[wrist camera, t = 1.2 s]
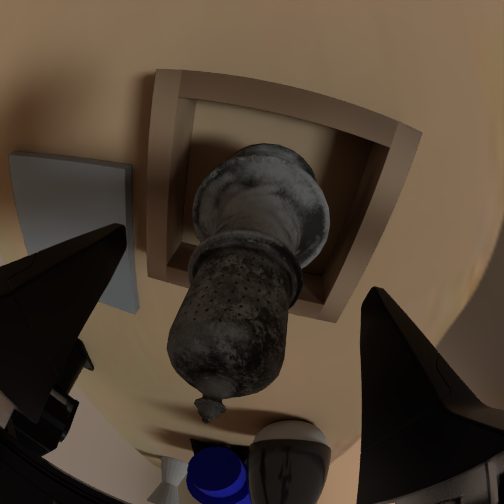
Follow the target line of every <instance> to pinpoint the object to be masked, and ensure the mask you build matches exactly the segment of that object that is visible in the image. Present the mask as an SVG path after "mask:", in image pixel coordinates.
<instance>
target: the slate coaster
mask: <svg viewBox="0 0 504 504" xmlns="http://www.w3.org/2000/svg"><path fill="white" fill-rule="evenodd" d="M8 157H9V165H10V173H11V180H12V187H13V192H14V198H15V203H16V208H17V213H18V217H19V222H20V226H21V230H22V234H23V238H24V241H25V245H26V248H27V252H28V255H31V254H34V253H36V252H37V253H38V252H39V251H41V250H44V249H46V248H48V247H51V246H53V245H56V244H59V243H61V242H64V241H66V240H69V239H71V238H74V237H77V236H79V235H82V234H85V233H88V232H90V231H93V230H96V229H99V228H101V227H104V226H107V225H110V224H113V223H119V224H122V225H124V226H125V227H126V235H127V248H126V251H125V253H124V255H123V257H122V259H121V261H120V263H119V265H118V267H117V269H116V271H115V273H114V275H113V277H112V279H111V281H110V282H109V284H108V286H107V288H106V289H105V291H104V292H103V294H102V296H101V297H100V299H99V302H102V303H105V304H107V305H110V306H113V307H115V308H118V309H121V310H124V311H127V312H129V313H132V314H136V313H137V311H138V309H139V301H138V292H137V283H136V272H135V260H134V245H133V226H132V165H129V164H123V163H116V162H109V161H102V160H95V159H87V158H79V157H70V156H61V155H52V154H41V153H30V152H17V151H15V152H13V153H11V154H9V155H8Z"/></svg>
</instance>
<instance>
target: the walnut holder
mask: <svg viewBox="0 0 504 504" xmlns="http://www.w3.org/2000/svg"><path fill="white" fill-rule="evenodd" d="M196 99H201V100H209V101H216V102H222V103H228V104H234V105H240V106H246V107H251V108H256V109H261V110H266V111H270V112H275V113H279V114H283V115H288V116H292V117H296V118H300V119H303V120H307V121H311V122H315V123H318V124H322V125H325V126H328V127H332V128H335V129H338V130H341V131H345V132H348V133H351V134H354V135H357V136H360V137H362V138H365V139H368V140H371V141H374V142H373V145H372V149H371V152H370V155H369V158H368V161H367V164H366V166H365V169H364V172H363V175H362V178H361V181H360V184H359V186H358V189H357V192H356V195H355V197H354V200H353V203H352V205H351V208H350V211H349V213H348V216H347V218H346V221H345V224H344V226H343V229H342V231H341V234H340V236H339V239H338V241H337V243H336V246H335V248H334V251H333V253H332V256H331V258H330V260H329V263H328V265H327V267H326V270H325V272H324V274H323V276H322V277H320V276H316V275H312V274H308V273H303V272H302V276H303V286H302V290H301V294H300V297H299V298H298V300H297V301H296V303H295V304H294V305H293V306H292V307H291V308H290V309H289V310H288V313H290V314H295V315H300V316H304V317H309V318H314V319H318V320H323V321H328V322H333V323H336V322H337V320H338V318H339V317H340V315H341V313H342V311H343V310H344V308H345V306H346V304H347V303H348V301H349V299H350V297H351V295H352V293H353V292H354V290H355V288H356V286H357V284H358V282H359V280H360V278H361V277H362V275H363V273H364V271H365V269H366V267H367V265H368V263H369V261H370V259H371V257H372V255H373V253H374V251H375V249H376V247H377V245H378V242H379V240H380V238H381V236H382V234H383V232H384V230H385V227H386V225H387V223H388V221H389V218H390V216H391V214H392V212H393V209H394V207H395V205H396V202H397V200H398V197H399V195H400V193H401V190H402V188H403V185H404V183H405V180H406V177H407V175H408V172H409V170H410V167H411V164H412V161H413V159H414V156H415V153H416V150H417V147H418V144H419V142H420V139H421V136H422V132H420V131H418V130H416V129H414V128H412V127H410V126H407V125H405V124H403V123H401V122H398V121H396V120H393V119H391V118H389V117H386V116H384V115H381V114H378V113H376V112H373V111H370V110H368V109H365V108H362V107H359V106H356V105H354V104H351V103H348V102H345V101H341V100H338V99H335V98H332V97H328V96H325V95H322V94H318V93H314V92H311V91H307V90H303V89H299V88H295V87H291V86H286V85H282V84H277V83H273V82H268V81H263V80H257V79H252V78H246V77H240V76H233V75H226V74H218V73H210V72H200V71H188V70H172V69H156V76H155V83H154V91H153V99H152V108H151V118H150V129H149V142H148V158H147V181H146V247H147V270H148V277H151V278H155V279H158V280H161V281H165V282H168V283H172V284H175V285H179V286H183V287H186V288H190V286H191V284H190V282H189V279H188V265H189V261H190V257H191V255H192V254H193V252H194V251H195V249H196V248H197V246H194V245H190V244H186V243H182V242H181V238H182V223H183V210H184V198H185V187H186V177H187V167H188V158H189V150H190V141H191V134H192V126H193V119H194V112H195V106H196Z"/></svg>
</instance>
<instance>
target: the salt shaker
mask: <svg viewBox="0 0 504 504" xmlns="http://www.w3.org/2000/svg"><path fill="white" fill-rule="evenodd" d="M192 212H193V225H194V228H195V231H196V234H197V237H198V239H199V241H200V242H201V243H200V244H199V245H198V246H197V248H196V249H195V251H194V252H193V254H192V255H191V257H190V261H189V265H188V279H189V282H190V284H191V286H190V288H189V290H188V292H187V294H186V296H185V298H184V301H183V303H182V305H181V307H180V309H179V311H178V313H177V316H176V318H175V320H174V322H173V324H172V326H171V329H170V332H169V337H168V343H167V351H168V355H169V358H170V361H171V364H172V366H173V368H174V369H175V371H176V372H177V373H178V374H179V375H180V376H181V377H182V378H183V379H184V380H185V381H186V382H187V383H188V384H189V385H191V386H193V387H194V388H196V389H198V390H199V391H200V392H201V393H203V397H202V398H199V399H196V400H195V402H194V404H195V405H196V407H197V408H199V409H198V413H199V415H200V416H201V417H202V421H203V422H204V423H210V422H211V420H213V419H216V418H217V417H218V416H219V414H220V413H224V412H225V411H226V410H227V409H226V408H225V406H224V405H223V404H222V400H223V399H228V398H231V397H241V396H246V395H250V394H254V393H257V392H259V391H261V390H263V389H265V388H266V387H267V386H268V385H270V384H271V383H272V382H273V381H274V380H275V379H276V378H277V377H278V375H279V373H280V370H281V367H282V364H283V361H284V357H285V346H286V334H287V322H288V310H289V309H290V308H291V307H292V306H293V305H294V304H295V303H296V301H297V300H298V298H299V297H300V294H301V290H302V286H303V276H302V268H304V267H305V266H307V265H308V264H309V263H310V262H311V261H312V260H313V259H314V258H315V257H316V256H317V255H318V254H319V253H320V251H321V249H322V248H323V246H324V244H325V242H326V241H327V236H328V232H329V227H330V217H329V207H328V204H327V201H326V199H325V196H324V194H323V191H322V190H321V188H320V187H319V186H318V184H317V180H316V178H315V175H314V173H313V171H312V168H311V167H310V166H309V165H308V163H307V162H306V161H305V160H304V158H302V157H301V156H300V155H298V154H297V153H296V152H294V151H293V150H291V149H288V148H286V147H283V146H281V145H275V144H266V143H265V144H258V145H252V146H250V147H247V148H245V149H243V150H241V151H239V152H238V153H237V154H235V155H234V156H233V157H232V158H231V159H230V160H229V161H226V162H224V163H222V164H220V165H218V166H217V167H216V168H215V169H214V170H213V171H212V172H210V173H209V174H208V175H207V176H206V177H205V178H204V180H203V182H202V183H201V185H200V186H199V188H198V190H197V191H196V195H195V199H194V203H193V207H192Z"/></svg>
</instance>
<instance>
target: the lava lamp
mask: <svg viewBox="0 0 504 504" xmlns="http://www.w3.org/2000/svg"><path fill="white" fill-rule="evenodd" d="M187 468H188V463H185V462H183V461H180V460H177V459H174V458H170V457H165V456H161V469H162V482H161V483H160V485H159V486H158V487H157V488H156V490H155V491H154V492H153V493H152V494H151V496H150V497H149V498H148V499H147V501H149V502H152V503H155V504H179V496H178V488H177V486H178V485H179V484H180V482H181V481H182V479H183V478H184V477H185V475H186V474H187Z"/></svg>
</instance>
